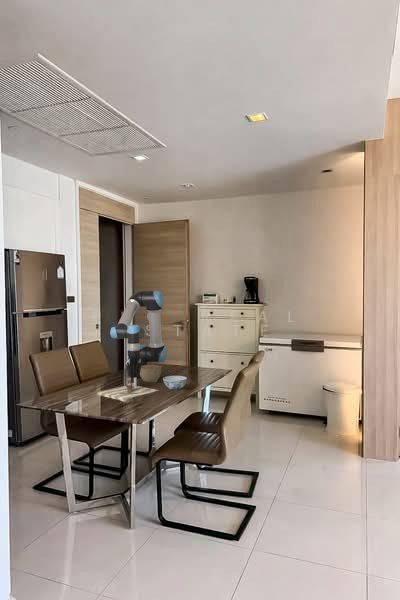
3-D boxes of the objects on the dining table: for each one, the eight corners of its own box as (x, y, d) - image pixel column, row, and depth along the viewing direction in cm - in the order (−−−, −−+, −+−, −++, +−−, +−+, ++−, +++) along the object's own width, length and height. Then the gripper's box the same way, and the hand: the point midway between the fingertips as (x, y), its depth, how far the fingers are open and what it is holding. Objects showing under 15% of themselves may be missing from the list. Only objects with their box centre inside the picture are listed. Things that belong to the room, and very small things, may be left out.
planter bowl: (166, 380, 291) (165, 365, 291) (154, 385, 276) (153, 369, 276) (146, 379, 297) (146, 364, 297) (134, 383, 283) (133, 367, 283)
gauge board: (96, 394, 252) (96, 392, 252) (130, 386, 273) (130, 384, 273) (126, 401, 235) (125, 398, 235) (159, 392, 256) (159, 390, 256)
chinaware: (160, 392, 256) (160, 380, 256) (166, 387, 271) (166, 375, 271) (184, 393, 254) (184, 380, 254) (188, 387, 269) (188, 376, 269)
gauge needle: (126, 385, 268) (126, 376, 268) (133, 385, 268) (133, 376, 268) (125, 392, 249) (125, 383, 248) (133, 392, 249) (133, 382, 249)
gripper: (129, 351, 248) (130, 390, 248) (145, 349, 258) (145, 386, 258) (121, 350, 252) (122, 388, 253) (137, 348, 262) (137, 385, 263)
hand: (134, 387), depth 255 cm, fingers closed
